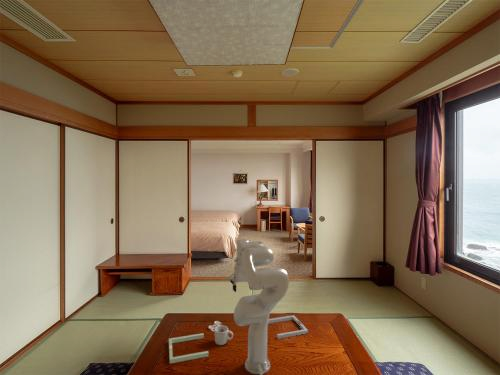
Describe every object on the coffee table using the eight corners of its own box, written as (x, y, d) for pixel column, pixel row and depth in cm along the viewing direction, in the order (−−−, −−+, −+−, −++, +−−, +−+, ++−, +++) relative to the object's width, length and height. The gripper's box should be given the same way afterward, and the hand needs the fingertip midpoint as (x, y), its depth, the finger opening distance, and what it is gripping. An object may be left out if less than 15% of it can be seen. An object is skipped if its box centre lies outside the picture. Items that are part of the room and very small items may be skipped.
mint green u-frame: (208, 356, 145) (208, 351, 145) (169, 363, 139) (169, 358, 139) (203, 336, 163) (203, 332, 163) (168, 342, 158) (168, 337, 157)
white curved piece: (207, 331, 170) (207, 324, 170) (211, 324, 178) (211, 318, 178) (220, 333, 168) (220, 326, 168) (225, 326, 176) (225, 319, 176)
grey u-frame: (308, 333, 167) (308, 329, 167) (278, 338, 161) (278, 334, 161) (293, 318, 185) (293, 314, 185) (266, 322, 180) (266, 318, 179)
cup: (234, 339, 161) (234, 325, 160) (231, 347, 153) (231, 333, 153) (215, 338, 162) (215, 324, 162) (212, 346, 154) (212, 332, 154)
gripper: (230, 264, 154) (230, 294, 155) (259, 261, 160) (259, 290, 161) (226, 260, 161) (226, 289, 162) (254, 257, 167) (254, 285, 168)
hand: (242, 289), depth 161 cm, fingers open, 9 cm apart
